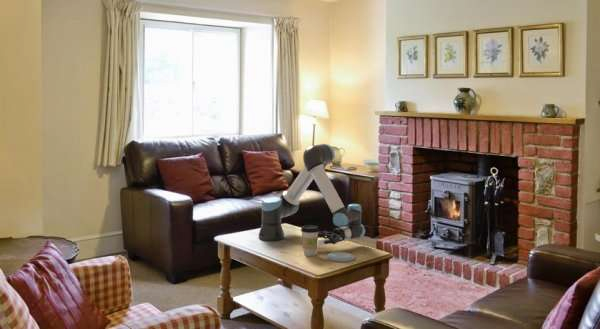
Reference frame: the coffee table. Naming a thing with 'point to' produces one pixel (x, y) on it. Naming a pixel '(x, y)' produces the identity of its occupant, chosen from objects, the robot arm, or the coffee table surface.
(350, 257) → the saucer
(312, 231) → the coffee cup
